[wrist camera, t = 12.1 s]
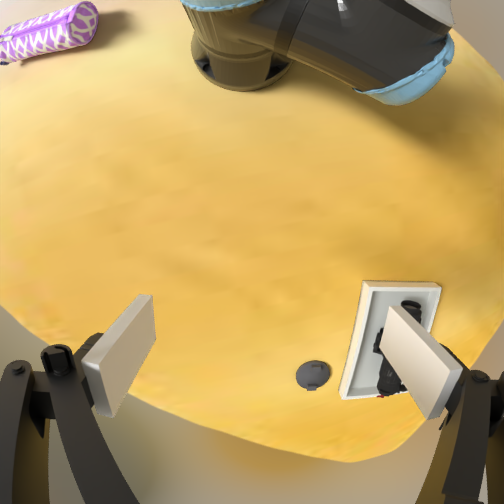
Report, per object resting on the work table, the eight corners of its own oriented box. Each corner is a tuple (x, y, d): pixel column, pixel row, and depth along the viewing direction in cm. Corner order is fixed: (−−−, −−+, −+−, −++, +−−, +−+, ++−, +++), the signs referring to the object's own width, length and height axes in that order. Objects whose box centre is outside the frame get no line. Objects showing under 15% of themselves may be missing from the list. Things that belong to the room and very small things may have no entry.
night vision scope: (392, 289, 47) (444, 302, 41) (373, 371, 52) (417, 385, 46) (379, 305, 41) (440, 320, 35) (358, 393, 46) (407, 410, 40)
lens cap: (298, 359, 49) (299, 366, 47) (331, 359, 49) (333, 365, 47) (293, 385, 50) (295, 392, 48) (325, 384, 50) (327, 391, 49)
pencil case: (13, 70, 35) (-16, 61, 26) (26, 32, 33) (0, 19, 24) (95, 51, 36) (67, 32, 27) (109, 9, 34) (86, -14, 24)
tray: (362, 280, 45) (369, 286, 42) (433, 281, 45) (441, 287, 42) (338, 389, 50) (341, 399, 48) (402, 383, 51) (407, 392, 48)
